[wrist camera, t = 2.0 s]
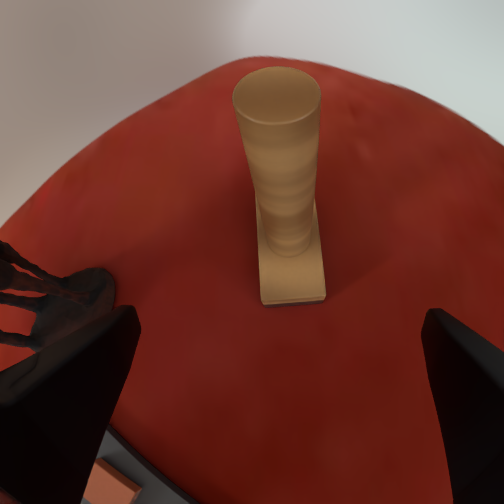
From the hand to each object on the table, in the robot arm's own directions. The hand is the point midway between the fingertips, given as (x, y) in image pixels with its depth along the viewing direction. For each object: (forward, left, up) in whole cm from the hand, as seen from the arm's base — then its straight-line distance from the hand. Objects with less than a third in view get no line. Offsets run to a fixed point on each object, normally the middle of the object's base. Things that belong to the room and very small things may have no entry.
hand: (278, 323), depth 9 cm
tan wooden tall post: (+4, -5, -13) cm, 14 cm away
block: (+3, +18, -12) cm, 21 cm away
